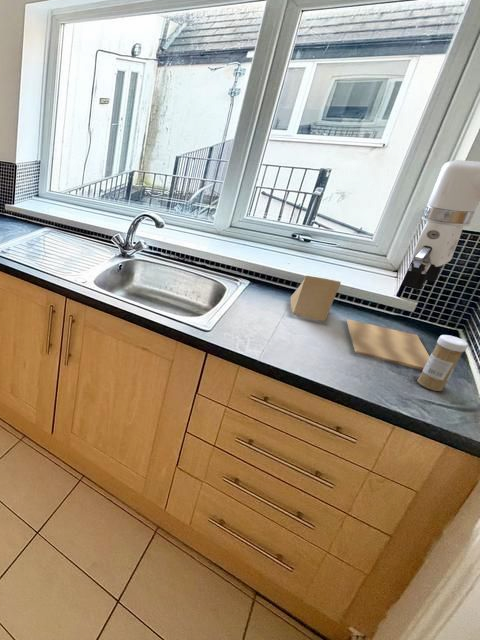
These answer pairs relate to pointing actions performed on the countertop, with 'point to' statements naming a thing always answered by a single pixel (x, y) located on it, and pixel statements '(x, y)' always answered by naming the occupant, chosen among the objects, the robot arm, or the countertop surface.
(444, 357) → the sprinkles bottle
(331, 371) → the countertop surface
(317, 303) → the sandwich container
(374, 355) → the chopping board
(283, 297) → the countertop surface
